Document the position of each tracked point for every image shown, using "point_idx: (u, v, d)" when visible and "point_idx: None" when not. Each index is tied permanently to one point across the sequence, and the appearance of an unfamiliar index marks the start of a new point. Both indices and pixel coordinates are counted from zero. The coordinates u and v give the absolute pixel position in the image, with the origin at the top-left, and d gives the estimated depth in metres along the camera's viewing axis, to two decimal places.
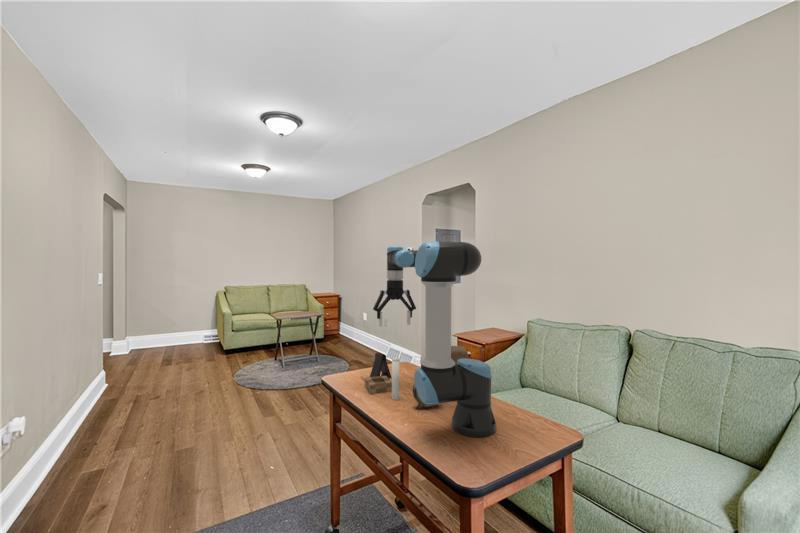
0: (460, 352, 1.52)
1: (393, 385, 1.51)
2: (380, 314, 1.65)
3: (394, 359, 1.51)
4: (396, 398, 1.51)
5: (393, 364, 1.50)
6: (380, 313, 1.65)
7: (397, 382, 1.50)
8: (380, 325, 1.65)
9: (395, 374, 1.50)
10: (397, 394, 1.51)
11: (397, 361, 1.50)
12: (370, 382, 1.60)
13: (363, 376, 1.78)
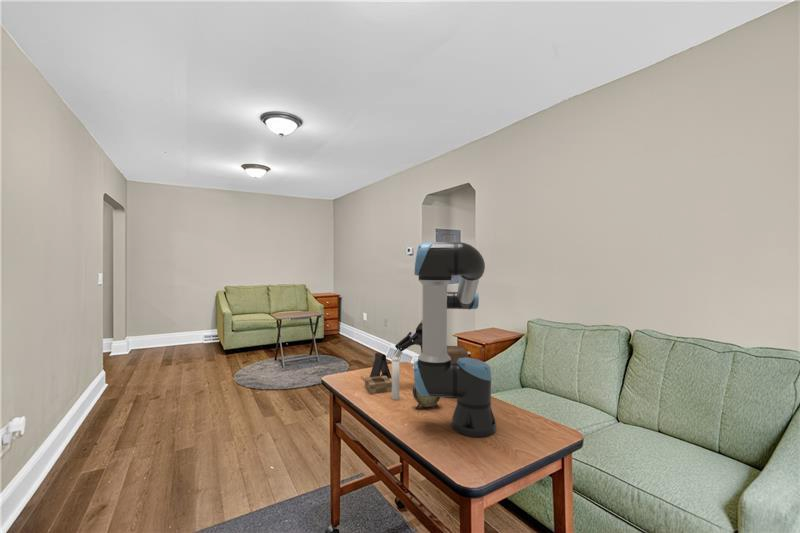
0: (460, 352, 1.52)
1: (393, 385, 1.51)
2: (397, 351, 1.63)
3: (394, 359, 1.51)
4: (396, 398, 1.51)
5: (393, 364, 1.50)
6: None
7: (397, 382, 1.50)
8: (391, 360, 1.61)
9: (395, 374, 1.50)
10: (397, 394, 1.51)
11: (397, 361, 1.50)
12: (370, 382, 1.60)
13: (363, 376, 1.78)
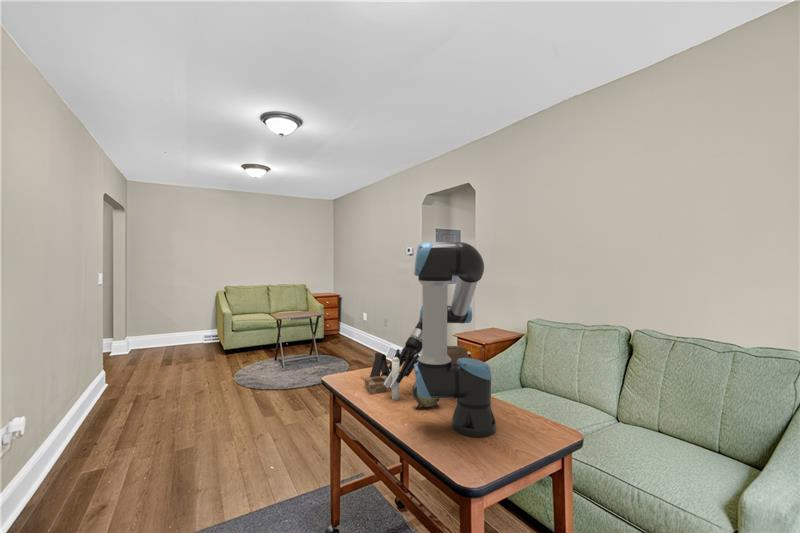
0: (460, 352, 1.52)
1: None
2: (390, 373, 1.53)
3: (394, 359, 1.51)
4: (396, 398, 1.51)
5: (393, 364, 1.50)
6: (391, 372, 1.53)
7: None
8: (384, 383, 1.50)
9: (395, 374, 1.50)
10: (397, 394, 1.51)
11: (397, 361, 1.50)
12: (370, 382, 1.60)
13: (363, 376, 1.78)
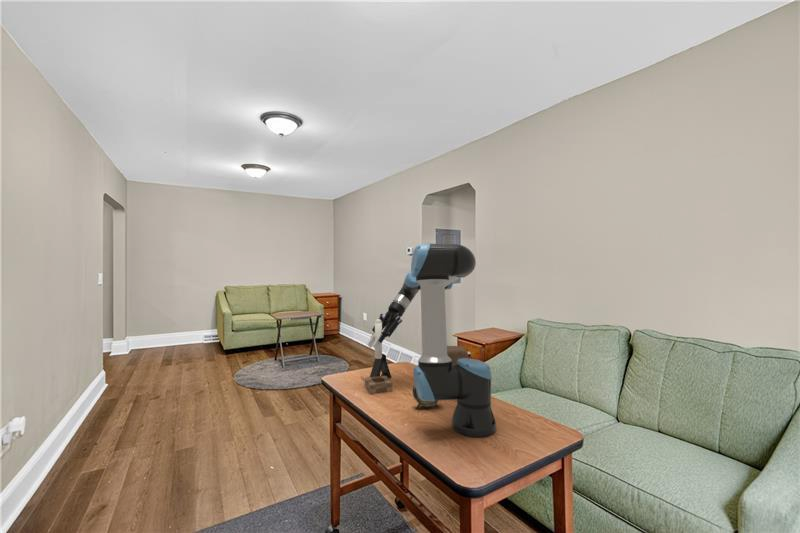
0: (460, 352, 1.52)
1: None
2: None
3: (377, 321, 1.61)
4: (379, 357, 1.61)
5: (376, 325, 1.61)
6: (374, 333, 1.64)
7: None
8: (367, 343, 1.61)
9: (378, 334, 1.61)
10: (380, 353, 1.61)
11: (380, 322, 1.61)
12: (370, 382, 1.60)
13: (363, 376, 1.78)
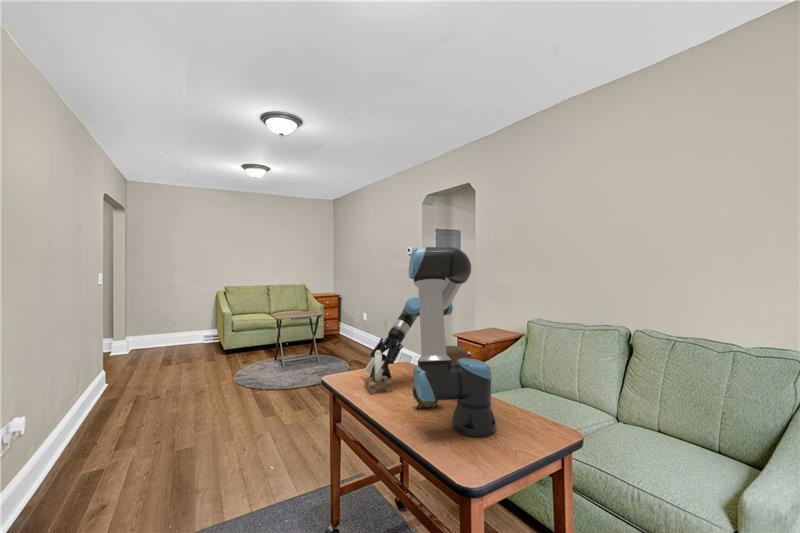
0: (460, 352, 1.52)
1: (376, 376, 1.62)
2: None
3: (376, 352, 1.62)
4: None
5: (376, 356, 1.62)
6: (372, 358, 1.66)
7: None
8: (365, 368, 1.63)
9: (378, 365, 1.61)
10: None
11: (379, 354, 1.62)
12: (370, 382, 1.60)
13: (363, 376, 1.78)
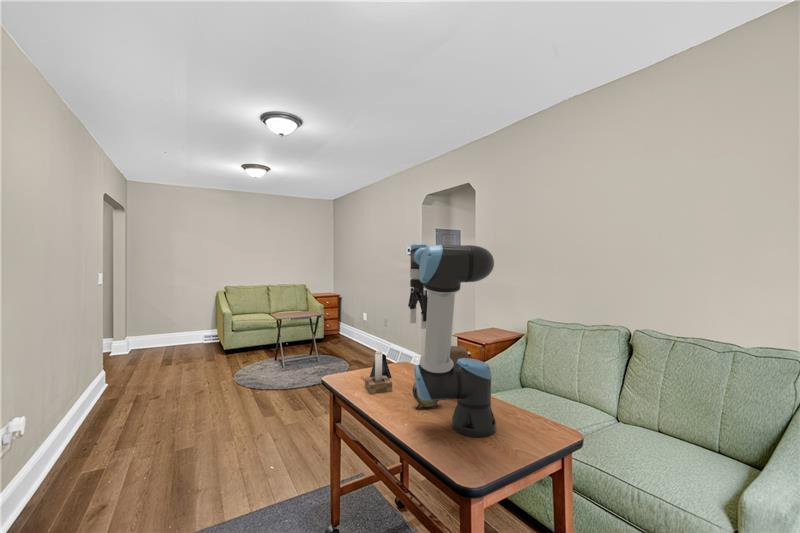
0: (460, 352, 1.52)
1: (376, 376, 1.62)
2: None
3: (377, 352, 1.62)
4: None
5: (376, 357, 1.62)
6: None
7: (380, 373, 1.62)
8: (410, 322, 1.68)
9: (378, 366, 1.61)
10: None
11: (380, 354, 1.61)
12: (370, 382, 1.60)
13: (363, 376, 1.78)
